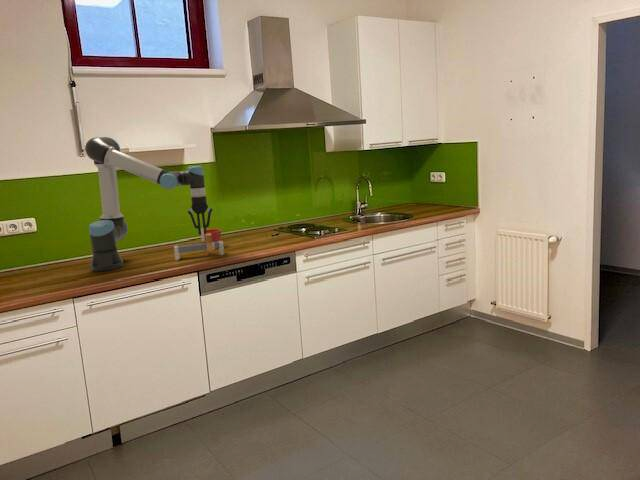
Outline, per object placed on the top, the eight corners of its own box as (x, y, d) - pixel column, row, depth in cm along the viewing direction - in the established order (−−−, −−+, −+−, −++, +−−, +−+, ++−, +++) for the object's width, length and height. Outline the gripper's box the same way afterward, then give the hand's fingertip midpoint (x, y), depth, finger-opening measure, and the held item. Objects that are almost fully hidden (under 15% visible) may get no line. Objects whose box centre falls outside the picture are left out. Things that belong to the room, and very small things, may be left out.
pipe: (175, 260, 276) (174, 247, 274) (175, 258, 281) (174, 245, 280) (224, 254, 281) (223, 242, 280) (223, 252, 287) (222, 240, 286)
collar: (207, 254, 279) (205, 236, 277) (207, 251, 285) (205, 233, 283) (213, 253, 279) (211, 235, 277) (212, 250, 286) (210, 233, 284)
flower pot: (211, 244, 310) (210, 228, 308) (226, 245, 305) (224, 229, 303) (199, 248, 302) (197, 231, 300) (213, 249, 296) (212, 232, 294)
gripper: (185, 197, 271) (190, 243, 275) (211, 195, 274) (216, 240, 278) (185, 196, 278) (190, 240, 282) (210, 194, 281) (215, 238, 285)
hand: (203, 240), depth 280 cm, fingers closed
